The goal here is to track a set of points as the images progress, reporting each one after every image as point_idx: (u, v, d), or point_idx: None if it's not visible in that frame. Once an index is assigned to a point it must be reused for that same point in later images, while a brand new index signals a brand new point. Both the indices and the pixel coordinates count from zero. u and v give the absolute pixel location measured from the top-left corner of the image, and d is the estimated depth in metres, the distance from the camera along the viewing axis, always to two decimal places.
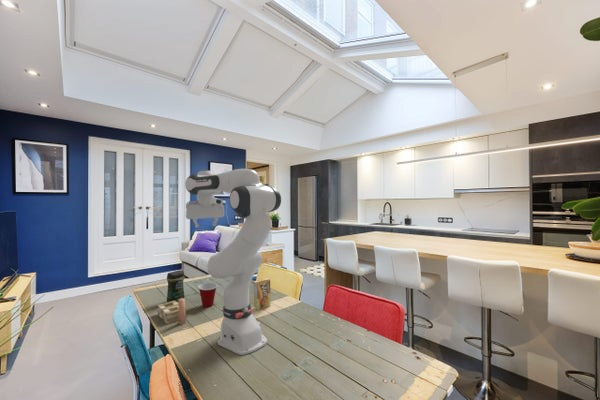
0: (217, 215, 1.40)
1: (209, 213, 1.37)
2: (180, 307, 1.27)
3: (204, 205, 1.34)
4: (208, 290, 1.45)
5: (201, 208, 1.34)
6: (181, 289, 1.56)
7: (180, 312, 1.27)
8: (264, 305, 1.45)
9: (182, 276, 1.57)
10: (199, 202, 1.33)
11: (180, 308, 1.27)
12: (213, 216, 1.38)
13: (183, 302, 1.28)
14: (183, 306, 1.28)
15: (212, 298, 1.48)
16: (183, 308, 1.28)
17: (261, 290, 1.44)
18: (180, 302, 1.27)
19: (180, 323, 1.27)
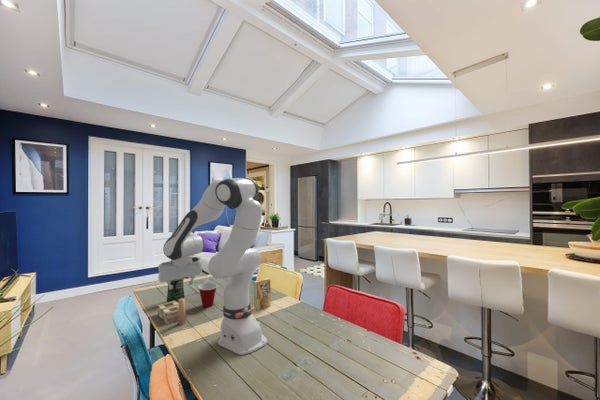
0: (193, 273, 1.31)
1: (184, 273, 1.28)
2: (180, 307, 1.27)
3: (179, 265, 1.25)
4: (208, 290, 1.45)
5: (175, 269, 1.25)
6: (181, 289, 1.56)
7: (180, 312, 1.27)
8: (264, 305, 1.45)
9: None
10: (173, 263, 1.25)
11: (180, 308, 1.27)
12: (189, 275, 1.30)
13: (183, 302, 1.28)
14: (183, 306, 1.28)
15: (212, 298, 1.48)
16: (183, 308, 1.28)
17: (261, 290, 1.44)
18: (180, 302, 1.27)
19: (180, 323, 1.27)
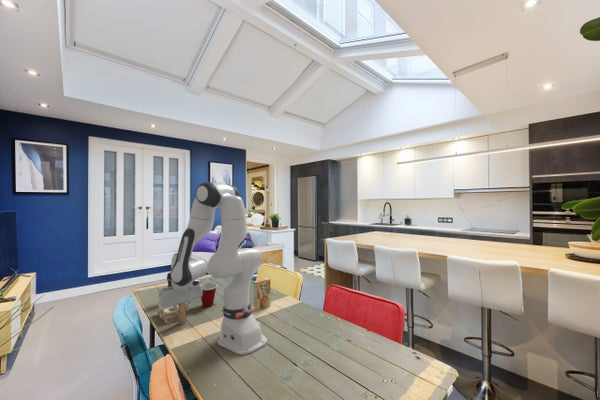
0: (194, 297, 1.31)
1: (185, 297, 1.28)
2: (180, 307, 1.27)
3: (179, 290, 1.25)
4: (208, 290, 1.45)
5: (176, 294, 1.25)
6: None
7: (180, 312, 1.27)
8: (264, 305, 1.45)
9: None
10: (174, 288, 1.25)
11: (180, 308, 1.27)
12: (189, 299, 1.30)
13: None
14: (183, 306, 1.28)
15: (212, 298, 1.48)
16: (183, 308, 1.28)
17: (261, 290, 1.44)
18: None
19: (180, 323, 1.27)
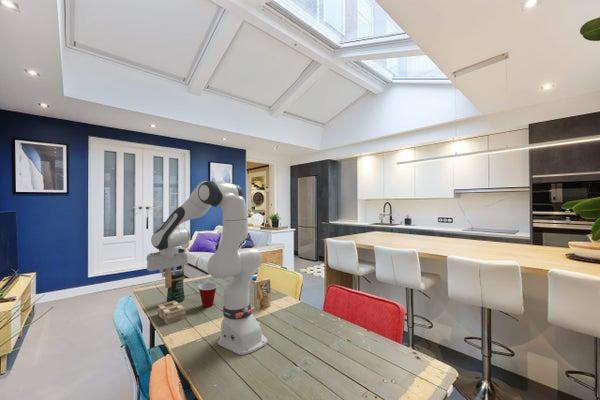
0: (180, 264, 1.42)
1: (171, 263, 1.39)
2: (166, 272, 1.38)
3: (165, 256, 1.37)
4: (208, 290, 1.45)
5: (163, 259, 1.36)
6: (181, 289, 1.56)
7: (166, 276, 1.38)
8: (264, 305, 1.45)
9: (182, 276, 1.57)
10: (160, 253, 1.36)
11: (166, 272, 1.38)
12: (175, 265, 1.41)
13: None
14: (169, 271, 1.39)
15: (212, 298, 1.48)
16: (169, 273, 1.39)
17: (261, 290, 1.44)
18: None
19: (166, 286, 1.38)
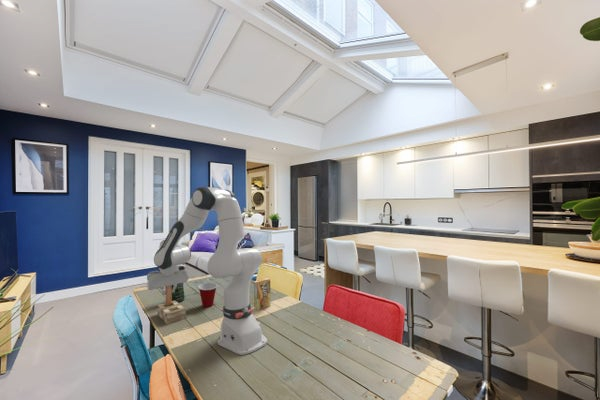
0: (180, 281, 1.42)
1: (172, 281, 1.39)
2: (167, 289, 1.38)
3: (166, 274, 1.37)
4: (208, 290, 1.45)
5: (163, 277, 1.36)
6: (181, 289, 1.56)
7: (167, 294, 1.38)
8: (264, 305, 1.45)
9: None
10: (161, 271, 1.36)
11: (167, 290, 1.38)
12: (176, 283, 1.41)
13: (170, 285, 1.39)
14: (170, 289, 1.39)
15: (212, 298, 1.48)
16: (170, 290, 1.39)
17: (261, 290, 1.44)
18: None
19: (167, 304, 1.38)
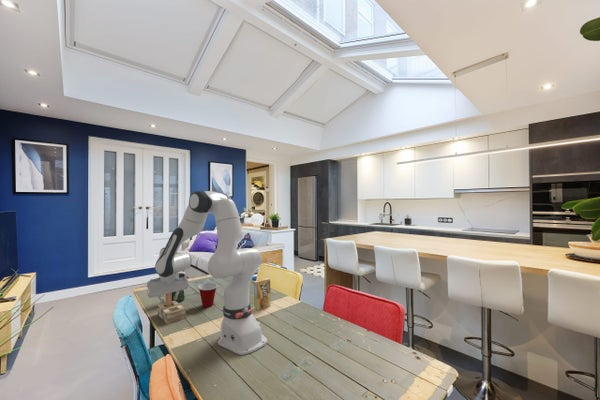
0: (180, 288, 1.42)
1: (172, 288, 1.39)
2: (167, 299, 1.38)
3: (166, 281, 1.36)
4: (208, 290, 1.45)
5: (163, 285, 1.36)
6: None
7: (167, 303, 1.38)
8: (264, 305, 1.45)
9: None
10: (161, 279, 1.36)
11: (167, 300, 1.38)
12: (176, 290, 1.41)
13: (170, 294, 1.39)
14: (170, 298, 1.39)
15: (212, 298, 1.48)
16: (170, 300, 1.39)
17: (261, 290, 1.44)
18: (167, 294, 1.38)
19: None
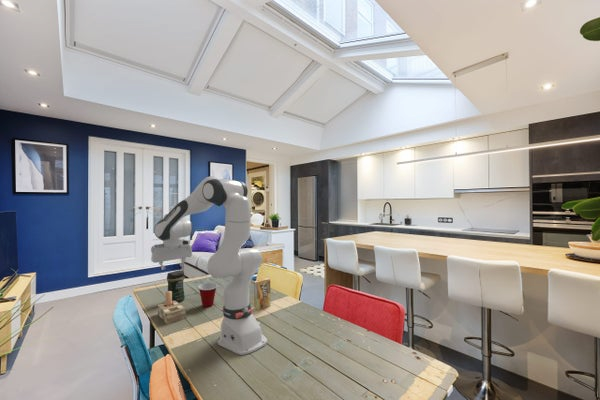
0: (184, 256, 1.42)
1: (176, 255, 1.39)
2: (167, 299, 1.38)
3: (170, 247, 1.37)
4: (208, 290, 1.45)
5: (167, 251, 1.36)
6: (181, 289, 1.56)
7: (167, 303, 1.38)
8: (264, 305, 1.45)
9: (182, 276, 1.57)
10: (165, 245, 1.36)
11: (167, 300, 1.38)
12: (180, 257, 1.41)
13: (170, 294, 1.39)
14: (170, 298, 1.39)
15: (212, 298, 1.48)
16: (170, 300, 1.39)
17: (261, 290, 1.44)
18: (167, 294, 1.38)
19: None
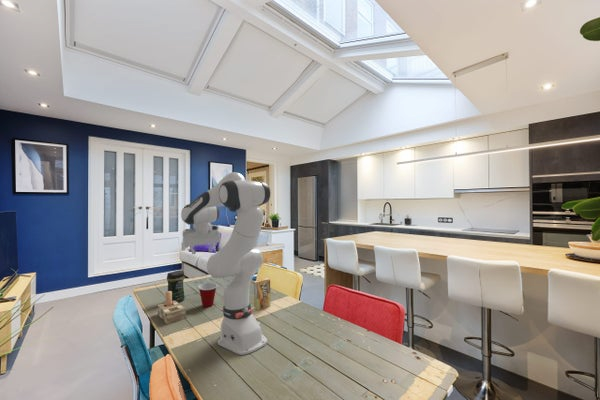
0: (213, 241, 1.44)
1: (205, 240, 1.41)
2: (167, 299, 1.38)
3: (200, 232, 1.38)
4: (208, 290, 1.45)
5: (197, 235, 1.38)
6: (181, 289, 1.56)
7: (167, 303, 1.38)
8: (264, 305, 1.45)
9: (182, 276, 1.57)
10: (195, 229, 1.37)
11: (167, 300, 1.38)
12: (209, 242, 1.42)
13: (170, 294, 1.39)
14: (170, 298, 1.39)
15: (212, 298, 1.48)
16: (170, 300, 1.39)
17: (261, 290, 1.44)
18: (167, 294, 1.38)
19: None
